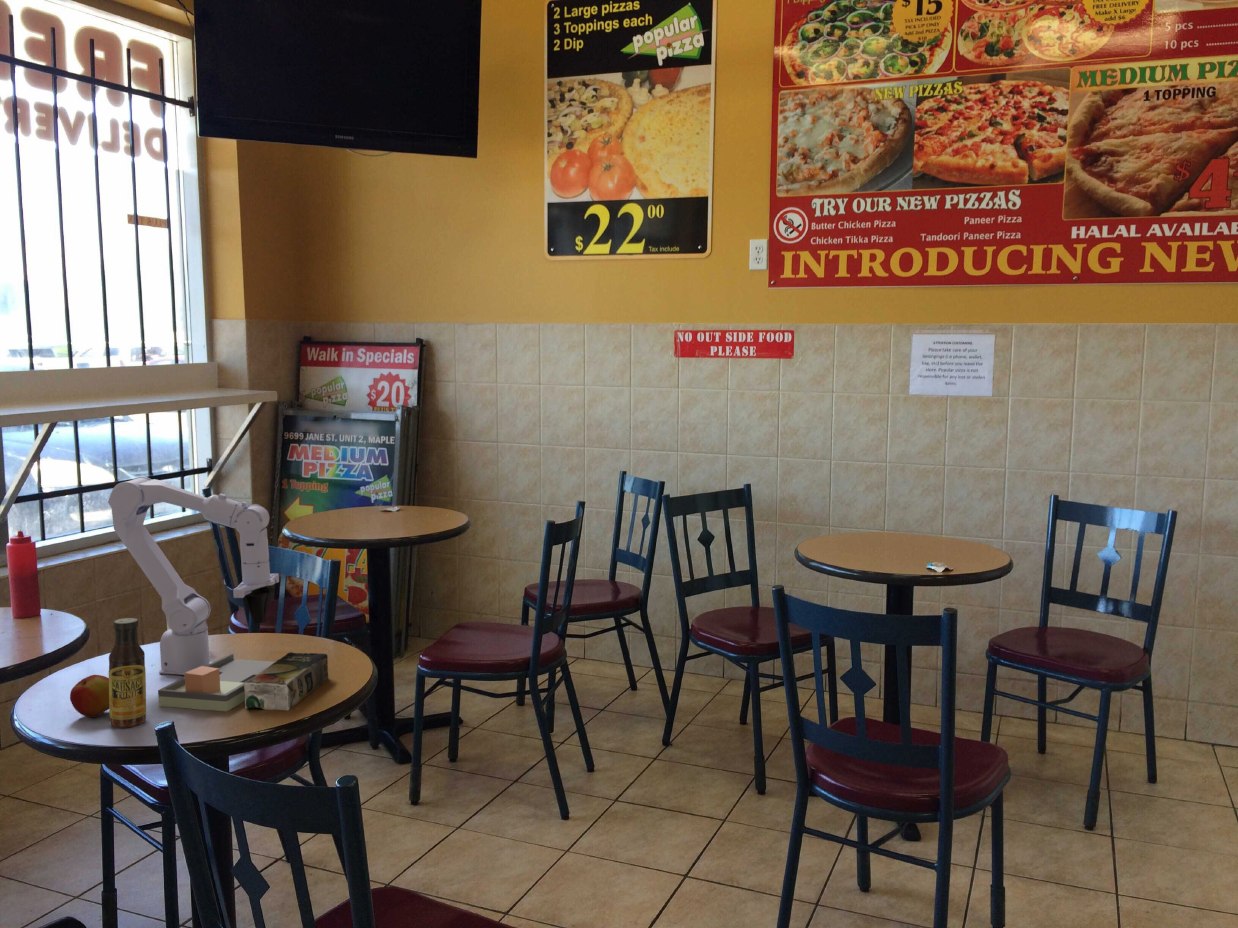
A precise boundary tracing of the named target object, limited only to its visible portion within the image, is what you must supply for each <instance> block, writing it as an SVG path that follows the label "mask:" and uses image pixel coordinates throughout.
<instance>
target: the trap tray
mask: <svg viewBox="0 0 1238 928" xmlns="http://www.w3.org/2000/svg"><path fill="white" fill-rule="evenodd" d="M212 662H213V663H211V664H209V665H207V666H205V667H212V668H219V674H220V691H218V692H215V693H206V692H193V691H186V689H185V676H183V677H181V678H179V679H177V680H176V681H173V682H171V683H170V684H167V685H166V686H163V687H162V688H160V689H158V690H157V694H158V695H157V697H158V698H157V699H158V707H166V708H167V707H168V708H179V709H192V710H193V709H194V710H202V711H203V710H204V711H205V710H206V711H216V712H229V711H230V710H232V709H234V708H235V707H236V706H238V705H240V704H241V703H243V702H245V689H244V683H246V682H247V681H249V680H250V679H252V678H253V677H255V676H256V675H258V674H259V673H261V672H262V671H263V670H265V669H266V668H268V667H269V666H270V665H272V664H273V663H275V662H276V661H268V660H267V661H266V660H252V659H240V658H239V659H238V658H234V653H229V654H226V655H223V657H220V658H219V659H217V660H215V661H212Z"/></svg>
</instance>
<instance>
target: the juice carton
mask: <svg viewBox="0 0 1238 928" xmlns="http://www.w3.org/2000/svg"><path fill="white" fill-rule="evenodd" d="M328 659H329V658H328V654H327V653H315V652H313V653H312V652H309V653H307V652H303V653H302V652H301V653H299V652H291V651H290V652H287V653H286V654H285V655H283V656H282V657H281V658H279V659H278V660H276V661H274V662H275V663H273V664H272V665H270V666H269V667H268V668H266V669H265V670H263V671H262V672H261V673H259V674H258V675H256V676H255V677H253V678H252V679H250V680H249V681H247V682H246V683H244V689H245V701H244V708H245V710H246V709H253V708H256V709H258V708H259V709H262V710H264V711H265V710H267V711H268V710H270V711H272V710H273V711H274V710H276V711H289V710H291V709H292V708H294V707H295V706H296V705H298V704H299V703H300V702H302V700H303V699H304V698H306V697H307V696H308V695H310V694H311V693H313V691H315V690H316V689H318V688H319V687H320V686H321V685H322V684H324V683H325V682H326V681H327V680H328V679H329V666H328V663H329V662H328ZM305 696H306V697H305Z"/></svg>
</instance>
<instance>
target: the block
mask: <svg viewBox="0 0 1238 928" xmlns="http://www.w3.org/2000/svg"><path fill="white" fill-rule="evenodd" d="M184 677H185V689H186V691H193V692H206V693H215V692H218V691H220V674H219V668H212V667H205V666H200V667H198V668H195V669H193V670H190V671H188V672H185V675H184Z"/></svg>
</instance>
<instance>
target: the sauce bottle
mask: <svg viewBox="0 0 1238 928" xmlns="http://www.w3.org/2000/svg"><path fill="white" fill-rule="evenodd" d="M138 627H139V619H138V618H133V617H126V618H118V619H116V620H114V622H113V629H114V633H115V641H114V645H113V648H112V649H111V651H110V653H109V655H108V662H109V663H108V664H109V666H108V678H109V709H108V710H109V711H108V713H109V718H110V720H109V721H110V722H109V723H110V725H111V726H112V727H113V728H118V729H119V728H120V729H121V728H123V729H124V728H126V729H127V728H131V727H136V726H139V725H141V724H143V723H144V722H145V721H146V718H147V688H146V687H147V682H146V681H147V680H146V679H147V678H146V676H147V675H146V674H147V673H146V672H147V671H146V666H145V663H146V661H145V660H146V659H145V654H146V653H145V651H144V649H143V648H142V646H140V644H139V638H138Z"/></svg>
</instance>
